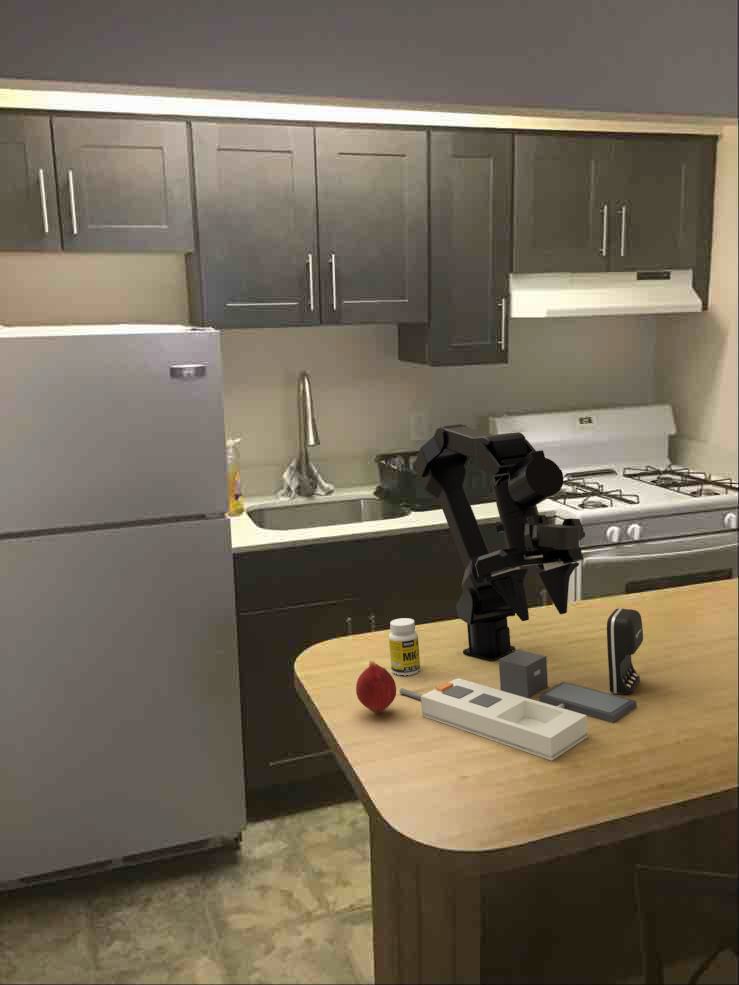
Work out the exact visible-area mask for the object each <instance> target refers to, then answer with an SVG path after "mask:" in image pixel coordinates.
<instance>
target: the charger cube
mask: <svg viewBox="0 0 739 985" xmlns="http://www.w3.org/2000/svg"><path fill="white" fill-rule="evenodd" d="M547 661H548V660H547V655H543V654H539V653H535V652H531V651H527V650H523V649H517V650H516V651H515V650H514V651H512V652H510V653H508V654H506V655H504V656H502V657H500V658H498V669H499V684H500V690H501V691H504V692H508V693H511V694H515V695H518V696H522V697H525V698H528V699H531V697H534V696H535V695H537V694H538V693H541V692H542V691H544V690H546V689H549V681H548V666H547V665H548V662H547Z"/></svg>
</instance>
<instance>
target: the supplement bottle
mask: <svg viewBox="0 0 739 985" xmlns="http://www.w3.org/2000/svg"><path fill="white" fill-rule="evenodd" d="M389 624H390V626H389V629H390V633H389V635H388V642H389V656H390V670H391V672H392V673H393V674H394V673H395V674H394V675H396V674H397V675H396V676H400V675H404V676H403V677H405V676H406V675H408V676H412V674H413V675H415V673H416V674H418V673H419V672H420V671H419V670H421V661H420V660H421V659H420V658H421V657H420V646H419V634H418V632H417V631H416V625H415V624H416V623H415V620H414V619H412V618H408V617H407V618H406V617H404V618H402V617H400V618H396V619H392V620H391V621H390V622H389ZM418 671H419V672H418Z"/></svg>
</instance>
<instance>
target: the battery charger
mask: <svg viewBox="0 0 739 985" xmlns="http://www.w3.org/2000/svg"><path fill="white" fill-rule="evenodd" d="M642 619H643V618H642V616H641V613H640V611H638V610H636V609H629V608H623V607H619V608H616V609H614V610H613V611H612V612H611V613H610V615H609V617H608V618H607V621H606V644H607V646H606V647H607V662H608V663H607V664H608V679H609V680H608V681H609V682H608V683H609V684H608V685H609V692H610V693H611V694H612V693H613V694H614V695H617V694H621V695H622V694H623V695H629V694H632V693H633V692H634V691H635V689H636V688H637V686H638V684H639V682H640V680H641V677H640V675H639V674H638V673H637V671H636V669H635V667H634V665H633V663H632V662H633V661H632V655H634V654H635V653H636V652H637V650H638V649H639V648H640V646H641V645H642V644H643V641H644V633H643V630H644V629H643V621H642Z"/></svg>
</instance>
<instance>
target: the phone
mask: <svg viewBox="0 0 739 985" xmlns="http://www.w3.org/2000/svg"><path fill="white" fill-rule="evenodd" d="M538 700H539V702H542V703H546V704H549V705H553V706H556V707H560V708H563V709H567V710H570V711H573V712H577V713H580V714H584V715H587V716H588V717H591V718H596V719H599V720H603V721H606V722H609V723H613V724H614V723H616V722H617V721H619V720H620V719H621V718H623V717H625V716H626V715H628V714H629V713H631V712H632V711H634V710H635V709H637V700H636V699H631V698H628V697H624V696H620V695H617V694H614V693H613V694H612V693H609V692H604V691H601V690H598V689H593V688H590V687H585V686H582V685H578V684H574V683H570V682H567V681H561V682H559V683H558V684H556V685H554V686H552V687H550V688H548V689H547V690H545V691H543V692H542V693H541V692H540V694H539V695H538Z"/></svg>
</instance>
